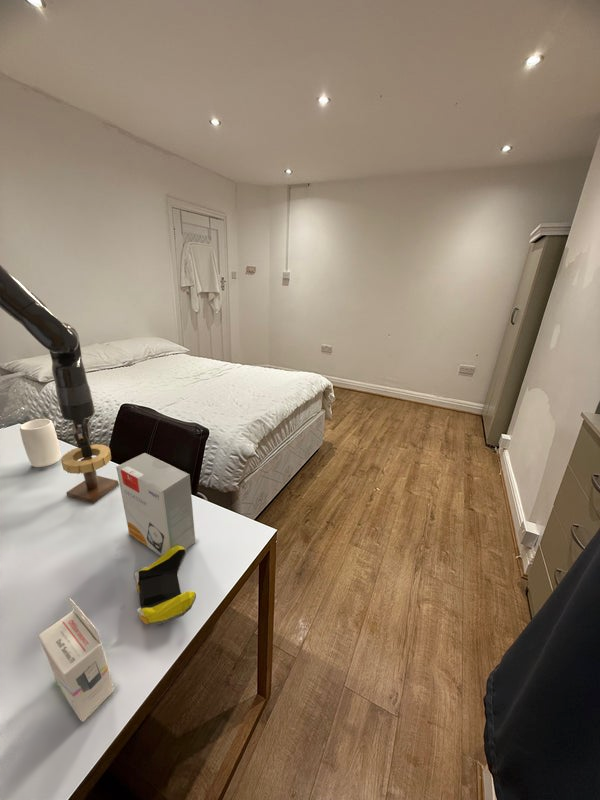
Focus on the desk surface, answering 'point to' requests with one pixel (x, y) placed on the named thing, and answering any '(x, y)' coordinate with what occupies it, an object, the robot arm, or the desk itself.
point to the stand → (92, 487)
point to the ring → (86, 466)
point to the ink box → (78, 662)
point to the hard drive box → (157, 503)
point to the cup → (40, 442)
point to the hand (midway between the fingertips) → (88, 454)
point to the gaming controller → (163, 589)
